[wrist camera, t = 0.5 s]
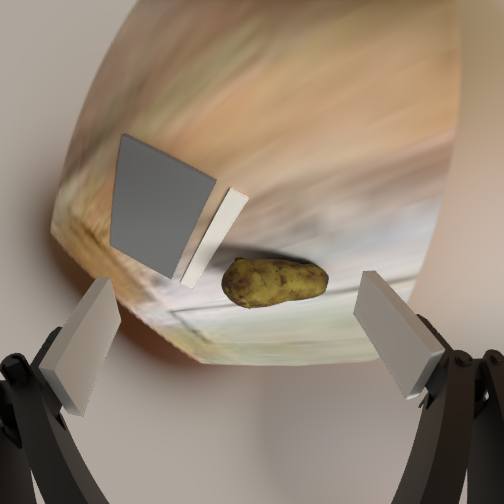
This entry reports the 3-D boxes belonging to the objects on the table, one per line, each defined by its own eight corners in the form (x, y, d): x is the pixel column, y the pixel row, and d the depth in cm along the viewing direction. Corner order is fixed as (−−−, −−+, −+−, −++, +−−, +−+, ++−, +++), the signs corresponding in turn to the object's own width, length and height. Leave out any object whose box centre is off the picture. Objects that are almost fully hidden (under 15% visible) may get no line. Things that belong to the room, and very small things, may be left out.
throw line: (230, 187, 32) (229, 188, 31) (249, 197, 32) (248, 199, 32) (181, 281, 49) (180, 282, 49) (192, 287, 50) (192, 289, 49)
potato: (306, 293, 42) (297, 339, 37) (229, 258, 41) (210, 303, 36) (336, 263, 36) (331, 315, 31) (248, 221, 35) (228, 270, 30)
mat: (124, 133, 29) (122, 135, 29) (216, 180, 31) (215, 182, 31) (111, 243, 47) (110, 245, 46) (172, 277, 49) (171, 279, 49)
